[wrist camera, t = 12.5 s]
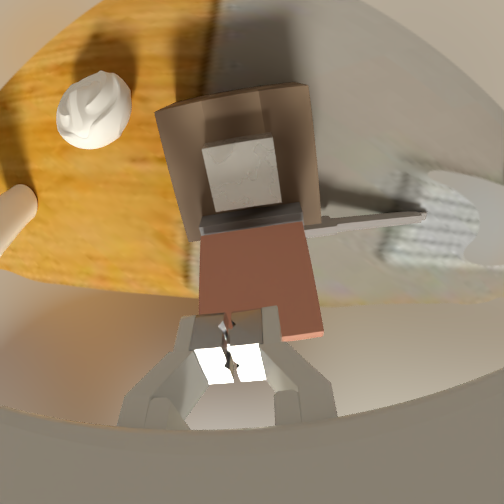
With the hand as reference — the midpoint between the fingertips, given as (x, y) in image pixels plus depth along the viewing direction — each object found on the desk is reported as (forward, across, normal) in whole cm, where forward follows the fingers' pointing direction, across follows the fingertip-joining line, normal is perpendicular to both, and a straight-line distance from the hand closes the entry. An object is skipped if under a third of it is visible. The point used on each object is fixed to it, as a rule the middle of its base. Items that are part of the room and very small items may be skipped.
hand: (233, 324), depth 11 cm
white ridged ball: (+25, +13, -8) cm, 30 cm away
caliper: (+26, -11, +10) cm, 30 cm away
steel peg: (+24, 0, 0) cm, 24 cm away
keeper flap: (+10, 0, +6) cm, 12 cm away
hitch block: (+25, 0, 0) cm, 25 cm away
